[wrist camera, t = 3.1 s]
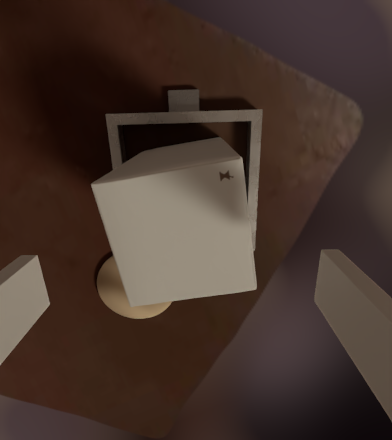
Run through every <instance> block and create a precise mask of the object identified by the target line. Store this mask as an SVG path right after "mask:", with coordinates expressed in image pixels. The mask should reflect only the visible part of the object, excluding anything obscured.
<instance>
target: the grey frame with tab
mask: <svg viewBox="0 0 392 440" xmlns="http://www.w3.org/2000/svg"><path fill="white" fill-rule="evenodd" d="M168 101H169V112H159V113H125V114H105V115H106V122H107V130H108V137H109V144H110V152H111V159H112V166H113V170H114V169H116V168H117V167H119V166H120V165H122V164H124V163H125V162H127V159H126V150H125V141H124V133H123V125H129V124H164V123H198V122H233V121H248V128H247V154H246V180H245V185H246V194H247V203H248V212H249V221H250V226H251V234H252V235H251V238H252V247H253V251H255V236H256V218H257V200H258V182H259V164H260V146H261V128H262V110H263V109H260V110H226V111H199V89H196V90H168Z"/></svg>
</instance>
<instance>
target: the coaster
mask: <svg viewBox="0 0 392 440" xmlns="http://www.w3.org/2000/svg"><path fill="white" fill-rule="evenodd" d="M97 289H98V292H99V295H100V297H101V299H102V300H103V302H104V303H105V304H106V305H107V306H108V307H109V308H110V309H112V310H113V311H114V312H116V313H118V314H120V315H122V316H125V317H129V318H135V319H142V318H149V317H153V316H156V315H158V314H160V313H161V312H163V311H164V310H165V309H166V308H167V307H168V306H169V305H170V304H171V302H172V301H169V302H163V303H157V304H150V305H142V306H134V307H130V305H129V302H128V299H127V296H126V293H125V290H124V287H123V284H122V281H121V278H120V274H119V271H118V268H117V265H116V262H115V259H114V256H111V257H110V258H109V259H108V260H107V261H106V262H105V263H104V264H103V266H102V267H101V269H100V271H99V273H98V277H97Z"/></svg>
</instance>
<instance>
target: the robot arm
mask: <svg viewBox="0 0 392 440" xmlns="http://www.w3.org/2000/svg"><path fill="white" fill-rule="evenodd" d="M314 301H315V303H316V304H317V306H318V307H319V309H320V311H321V312H322V314H323V315H324V317H325V318H326V320H327V321H328V323H329V325H330V326H331V328H332V329H333V331H334V332H335V334H336V335H337V337H338V338H339V340H340V341H341V343H342V345H343V346H344V348H345V349H346V351H347V352H348V354H349V356H350V357H351V359H352V360H353V362H354V363H355V365H356V366H357V368H358V370H359V371H360V373H361V374H362V376H363V377H364V379H365V380H366V382H367V383H368V385H369V387H370V388H371V390H372V391H373V393H374V394H375V396H376V398H377V399H378V401H379V402H380V404H381V405H382V407H383V408H384V410H385V412H386V413H387V415H388V416H389V418H390V419H391V421H392V298H391V297H390V296H388V295H387V294H386V293H385V292H384V291H383V290H382V289H381V288H380V287H379V286H378V285H377V284H376V283H375V282H373V281H372V280H371V279H370V278H369V277H368V276H367V275H366V274H365V273H364V272H362V271H361V270H360V269H359V268H358V267H357V266H356V265H355V264H354V263H353V262H352V261H350V260H349V259H348V258H347V257H346V256H345V255H344V254H343V253H342V252H341V251H339V250H322V251H321V257H320V263H319V270H318V276H317V284H316V290H315V297H314ZM49 305H50V302H49V299H48V295H47V291H46V287H45V283H44V279H43V275H42V271H41V268H40V264H39V260H38V256H37V255H21V256H20V257H18V258H17V259H16V260H14V261H13V262H12V263H10V264H9V265H8V266H6V267H5V268H4V269H2V270H1V271H0V365H1V363H2V362H3V361H4V360H5V359H6V357H7V356H8V355H9V354H10V352H11V351H12V350H13V349H14V348H15V346H16V345H17V344H18V343H19V341H20V340H21V339H22V338H23V337H24V335H25V334H26V333H27V332H28V331H29V329H30V328H31V327H32V326H33V324H34V323H35V322H36V321H37V320H38V318H39V317H40V316H41V315H42V313H43V312H44V311H45V310H46V309H47V307H48V306H49Z"/></svg>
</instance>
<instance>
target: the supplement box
mask: <svg viewBox="0 0 392 440" xmlns="http://www.w3.org/2000/svg"><path fill="white" fill-rule="evenodd" d="M91 187H92V190H93V193H94V196H95V199H96V202H97V205H98V209H99V212H100V215H101V218H102V221H103V224H104V227H105V230H106V234H107V237H108V240H109V243H110V246H111V249H112V252H113V256H114V259H115V262H116V265H117V268H118V271H119V274H120V278H121V281H122V284H123V287H124V290H125V293H126V296H127V299H128V302H129V305H130V307H134V306H142V305H150V304H157V303H163V302H169V301H176V300H184V299H190V298H198V297H206V296H214V295H222V294H230V293H237V292H244V291H250V290H256V288H257V283H256V274H255V265H254V256H253V247H252V238H251V235H252V234H251V226H250V221H249V212H248V203H247V194H246V185H245V176H244V167H243V159H242V157H241V156H240V155H239V154H238V153H236V152H235V151H234V150H233V149H232V148H231V147H230V146H229V145H228V144H227V143H226V142H225V141H224V140H223V139H222V138H221V137H217V138H211V139H205V140H200V141H194V142H188V143H182V144H177V145H171V146H165V147H160V148H155V149H150V150H146V151H143V152H141V153H139V154H138V155H136V156H134V157H133V158H131V159H130V160H128V161H127V162H125V163H124V164H122V165H120V166H119V167H117V168H116V169H114V170H112V171H111V172H109V173H108V174H106V175H104V176H103V177H101V178H100V179H98V180H96V181H94V182H93V183H91Z"/></svg>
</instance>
